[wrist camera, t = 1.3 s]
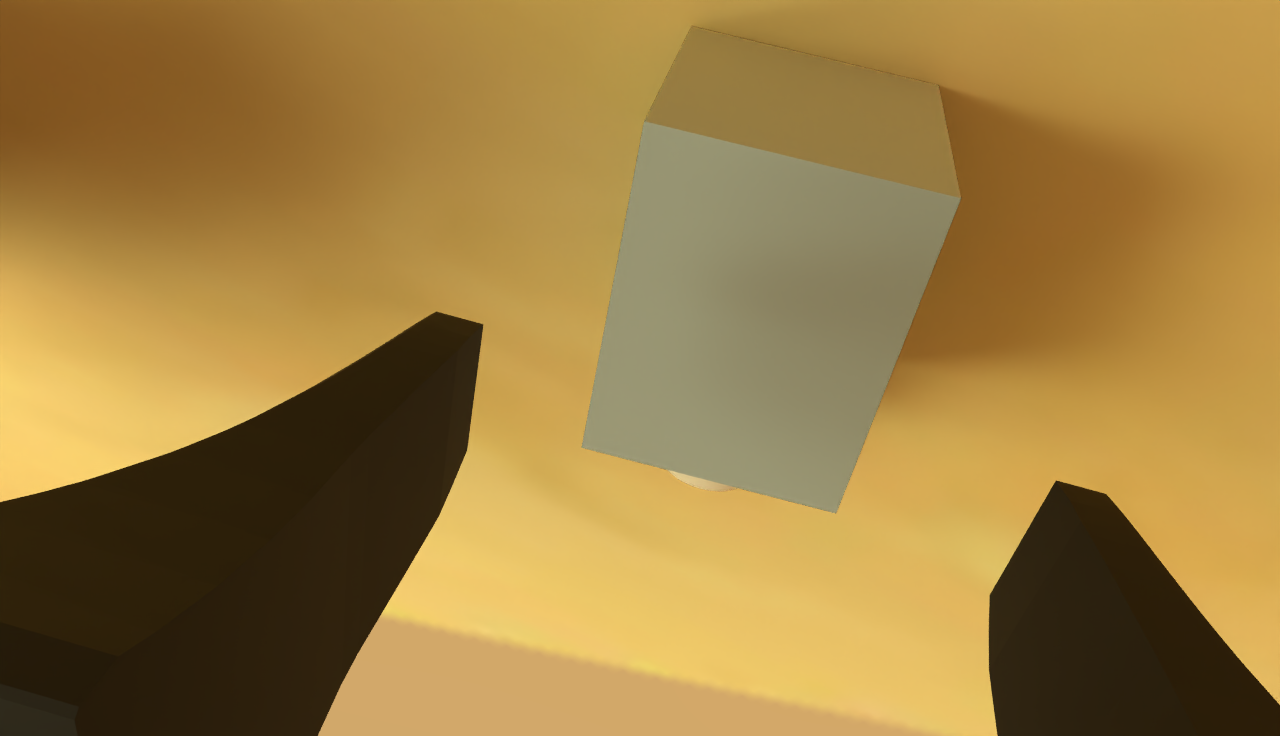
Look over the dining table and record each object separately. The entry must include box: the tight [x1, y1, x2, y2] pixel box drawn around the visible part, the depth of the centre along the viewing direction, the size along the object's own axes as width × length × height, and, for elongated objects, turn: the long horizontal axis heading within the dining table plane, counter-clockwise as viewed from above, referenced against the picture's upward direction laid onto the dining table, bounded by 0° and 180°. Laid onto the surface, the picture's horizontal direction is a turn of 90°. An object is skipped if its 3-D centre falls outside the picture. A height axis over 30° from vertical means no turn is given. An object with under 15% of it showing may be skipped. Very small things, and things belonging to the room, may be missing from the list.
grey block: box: [582, 26, 961, 513], centre depth 18 cm, size 4×8×5 cm, turn 170°
